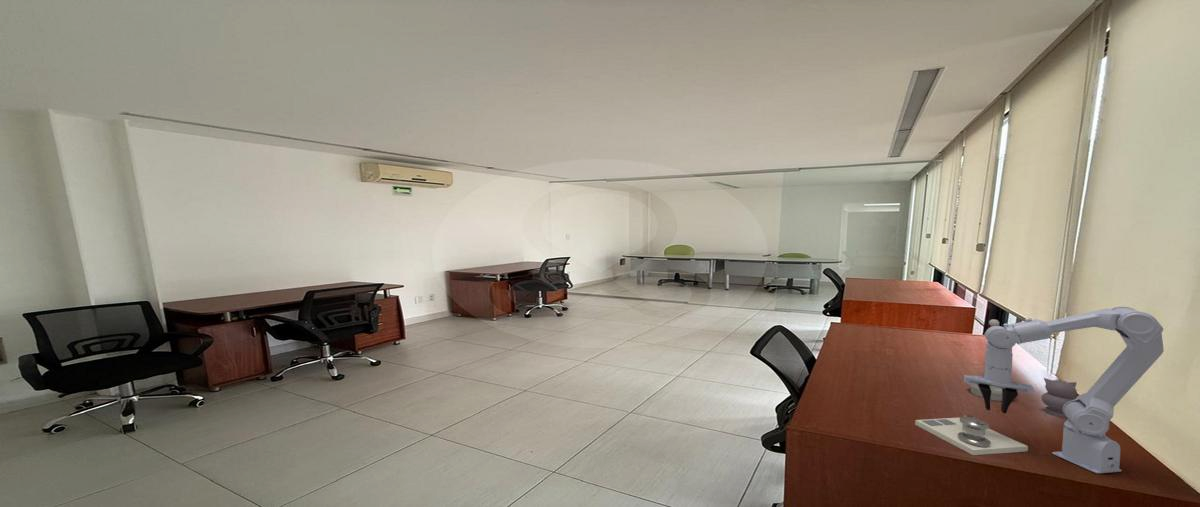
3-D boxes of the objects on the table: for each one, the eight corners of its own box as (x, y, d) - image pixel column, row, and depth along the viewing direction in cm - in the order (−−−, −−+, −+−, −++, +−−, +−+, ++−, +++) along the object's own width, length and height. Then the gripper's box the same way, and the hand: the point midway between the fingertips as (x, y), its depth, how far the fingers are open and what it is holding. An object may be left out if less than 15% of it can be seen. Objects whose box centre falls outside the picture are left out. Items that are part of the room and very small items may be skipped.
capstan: (992, 449, 111) (993, 431, 111) (959, 441, 115) (959, 424, 115) (983, 426, 124) (984, 410, 124) (953, 420, 128) (954, 404, 128)
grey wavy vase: (1044, 415, 136) (1046, 381, 135) (1037, 407, 142) (1039, 374, 142) (1082, 422, 131) (1084, 387, 130) (1072, 413, 137) (1075, 379, 137)
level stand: (1027, 451, 113) (1028, 445, 113) (973, 455, 111) (973, 449, 111) (963, 421, 131) (963, 416, 131) (915, 424, 129) (915, 419, 129)
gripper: (1028, 367, 117) (1026, 412, 118) (963, 358, 125) (961, 400, 126) (1036, 374, 111) (1033, 421, 112) (967, 364, 120) (965, 407, 120)
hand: (995, 410), depth 119 cm, fingers open, 3 cm apart
